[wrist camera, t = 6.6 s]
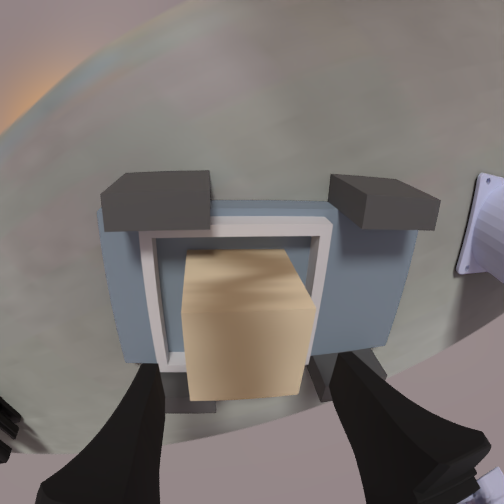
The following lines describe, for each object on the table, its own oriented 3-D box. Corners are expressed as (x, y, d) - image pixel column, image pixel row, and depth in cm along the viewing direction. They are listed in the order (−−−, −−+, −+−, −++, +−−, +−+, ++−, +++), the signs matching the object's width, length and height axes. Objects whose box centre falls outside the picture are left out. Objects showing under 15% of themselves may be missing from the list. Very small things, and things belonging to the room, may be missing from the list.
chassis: (412, 181, 18) (457, 202, 14) (371, 348, 23) (395, 387, 19) (102, 174, 15) (71, 196, 11) (133, 364, 21) (124, 411, 17)
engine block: (283, 248, 17) (316, 308, 12) (275, 325, 19) (298, 394, 14) (187, 249, 16) (181, 312, 11) (190, 328, 18) (190, 401, 13)
